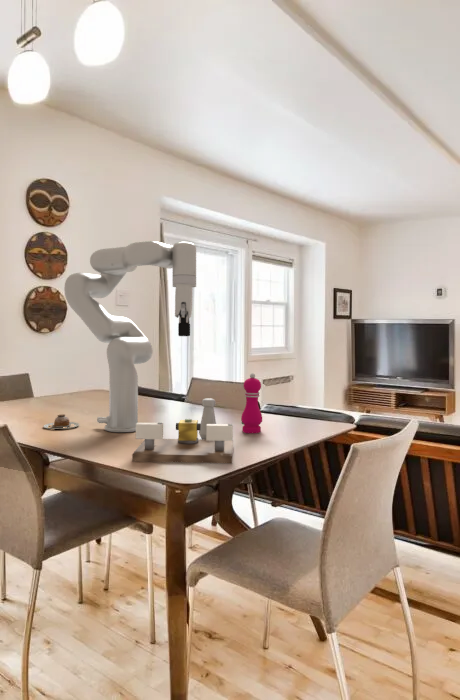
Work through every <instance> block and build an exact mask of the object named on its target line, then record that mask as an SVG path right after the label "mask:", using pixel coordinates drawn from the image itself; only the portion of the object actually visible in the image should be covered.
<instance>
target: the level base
mask: <svg viewBox="0 0 460 700" xmlns="http://www.w3.org/2000/svg"><path fill="white" fill-rule="evenodd" d="M200 429H201V422H200V423H198V420H197V419H191V418H185V419H180V420H179V422H176V423H175V431H178V438H162V440H161V439H154V449H152V450H147V449H145V439H143V441H141V443H140V445H139V446H138V447H136V449H135V450H134V451H133V453H132V454H131V456H132V458H131V459H132V460H131V461H132V462H137V463H138V462H139V463H140V462H142V463H143V462H144V463H155V462H156V463H184V464H185V463H190V464H192V463H193V464H196V463H197V464H233V453H234V452H233V451H234V440H233V441H224V451H215V441H212V440H202V439H201V438H200V439H199V438H198V434H199V430H200Z"/></svg>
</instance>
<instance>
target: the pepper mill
mask: <svg viewBox="0 0 460 700" xmlns="http://www.w3.org/2000/svg"><path fill="white" fill-rule="evenodd" d="M255 377H256V374H255V373H250V374H249V378H246V380H244V382H243V388H244V390H245V392H244V397H245V398H246V399H245V400H246V402H245V407H244V410H243V411H242V413H241V424H242V423H243V426H242V433H244V434H259V433H261V431H262V427H261V425H260V424H262V422H263V414H262V412H261V410H260V406H259V397H260V390H261V389H262V383H261V381H260V380H259V379H258V378H255Z"/></svg>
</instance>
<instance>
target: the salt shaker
mask: <svg viewBox="0 0 460 700" xmlns="http://www.w3.org/2000/svg"><path fill="white" fill-rule="evenodd" d="M216 404H217V403H216V400H215V399H214V398H211V397H210V398H208V397H207V398H203V399H202V400H201V406H202V407H203V410H202V416H201V418H200V419H201V421H200V424H201V429H200V430H198V434H199V437H200V439H202V440H206V432H207V424H217V421H216V414H215V408H214V407H215V406H216Z"/></svg>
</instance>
